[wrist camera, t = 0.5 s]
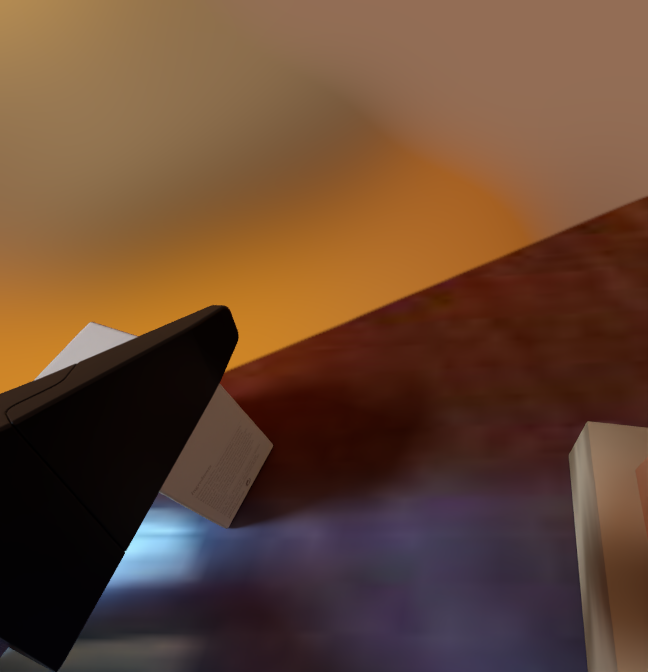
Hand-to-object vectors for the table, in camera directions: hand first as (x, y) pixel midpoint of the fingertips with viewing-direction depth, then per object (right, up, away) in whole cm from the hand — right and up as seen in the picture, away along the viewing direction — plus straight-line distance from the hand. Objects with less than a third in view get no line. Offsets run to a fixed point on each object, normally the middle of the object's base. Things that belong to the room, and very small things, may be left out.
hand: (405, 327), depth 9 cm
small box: (-9, -9, +18) cm, 22 cm away
